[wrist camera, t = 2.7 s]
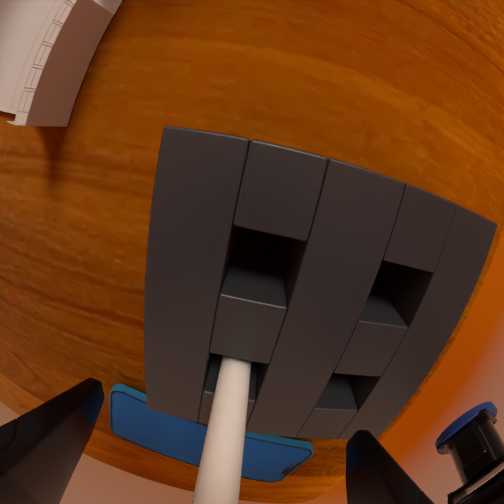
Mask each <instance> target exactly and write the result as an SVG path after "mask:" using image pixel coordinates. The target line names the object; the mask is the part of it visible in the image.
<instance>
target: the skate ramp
mask: <svg viewBox="0 0 504 504" xmlns="http://www.w3.org/2000/svg"><path fill="white" fill-rule="evenodd" d="M55 1H56V2H55ZM122 1H123V0H0V111H4V112H8V113H13V114H16V117H15V121H7V122H8V123H11V122H13V123H15V124H14V125H16V124H19V125H22V126H62V127H67V125H68V122H69V118H70V115H71V112H72V109H73V106H74V103H75V100H76V97H77V94H78V92H79V89H80V86H81V84H82V81H83V78H84V76H85V73H86V71H87V69H88V66H89V64H90V62H91V59H92V57H93V55H94V53H95V51H96V48H97V46H98V44H99V42H100V40H101V38H102V36H103V34H104V32H105V30H106V28H107V26H108V25H109V23H110V21H111V19H112V17H113V16H114V14H115V12H116V10H117V9H118V7H119V5H120V4H121V2H122ZM52 6H53V7H52ZM51 8H52V9H51ZM47 15H48V16H47ZM46 17H47V18H46ZM45 19H46V20H45ZM44 21H45V22H44ZM38 33H39V34H38ZM37 35H38V36H37ZM36 37H37V38H36ZM35 39H36V40H35ZM32 46H33V47H32ZM31 48H32V49H31ZM29 53H30V54H29ZM28 55H29V56H28ZM26 60H27V61H26ZM24 65H25V66H24ZM23 68H24V69H23ZM21 73H22V74H21ZM20 76H21V77H20ZM19 79H20V80H19ZM18 82H19V83H18ZM17 85H18V86H17ZM16 88H17V89H16ZM15 91H16V92H15ZM14 94H15V95H14ZM12 101H13V102H12ZM10 108H11V109H10ZM13 123H11V124H13ZM16 126H17V125H16Z"/></svg>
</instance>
